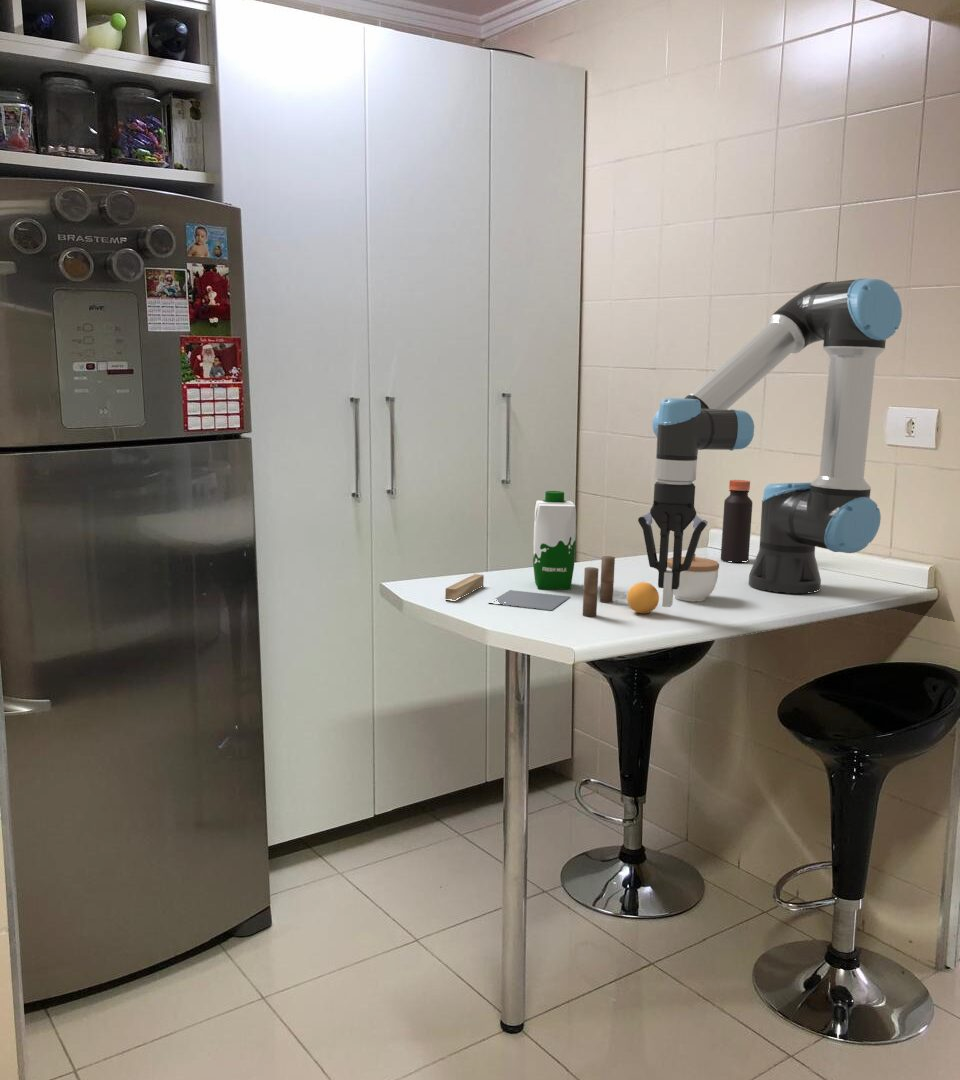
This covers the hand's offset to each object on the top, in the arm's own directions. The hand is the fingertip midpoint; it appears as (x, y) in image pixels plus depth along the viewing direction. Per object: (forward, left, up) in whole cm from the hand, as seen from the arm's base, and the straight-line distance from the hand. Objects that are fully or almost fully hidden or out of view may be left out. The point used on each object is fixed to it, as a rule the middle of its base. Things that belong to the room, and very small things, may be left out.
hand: (667, 605), depth 194 cm
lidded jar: (-2, -18, -2) cm, 18 cm away
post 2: (+13, -7, -2) cm, 15 cm away
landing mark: (+27, 0, -2) cm, 28 cm away
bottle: (-5, -66, -2) cm, 66 cm away
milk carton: (+27, -16, -2) cm, 32 cm away
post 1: (+13, +6, -2) cm, 15 cm away
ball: (+5, 0, +1) cm, 5 cm away
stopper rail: (+41, 0, -2) cm, 42 cm away
